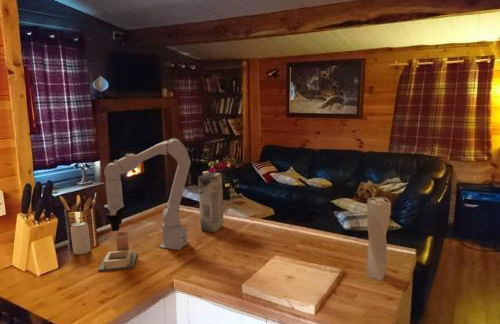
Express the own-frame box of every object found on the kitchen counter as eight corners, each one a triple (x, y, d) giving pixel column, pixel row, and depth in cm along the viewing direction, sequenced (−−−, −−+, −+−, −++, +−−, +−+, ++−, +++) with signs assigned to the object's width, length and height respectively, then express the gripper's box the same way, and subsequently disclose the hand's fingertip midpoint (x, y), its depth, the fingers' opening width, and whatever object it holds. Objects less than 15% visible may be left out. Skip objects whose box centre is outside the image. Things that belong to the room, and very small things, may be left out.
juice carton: (225, 225, 174) (223, 169, 169) (216, 233, 164) (213, 174, 159) (208, 223, 177) (205, 168, 172) (198, 231, 167) (195, 173, 162)
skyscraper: (384, 283, 117) (388, 199, 112) (361, 278, 121) (364, 196, 116) (390, 273, 124) (393, 193, 119) (367, 268, 128) (370, 190, 123)
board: (137, 254, 144) (136, 247, 144) (133, 268, 133) (132, 260, 132) (105, 257, 142) (104, 250, 142) (98, 271, 131) (97, 264, 130)
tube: (131, 249, 149) (129, 231, 147) (124, 254, 145) (122, 235, 143) (122, 248, 150) (120, 229, 149) (114, 253, 146) (113, 233, 145)
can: (84, 255, 144) (80, 226, 142) (69, 254, 146) (66, 225, 143) (94, 249, 150) (91, 221, 148) (80, 248, 152) (77, 220, 150)
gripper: (106, 190, 149) (109, 222, 151) (100, 199, 135) (103, 234, 137) (124, 188, 150) (127, 220, 153) (120, 198, 136) (123, 233, 139)
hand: (117, 227), depth 145 cm, fingers open, 7 cm apart
